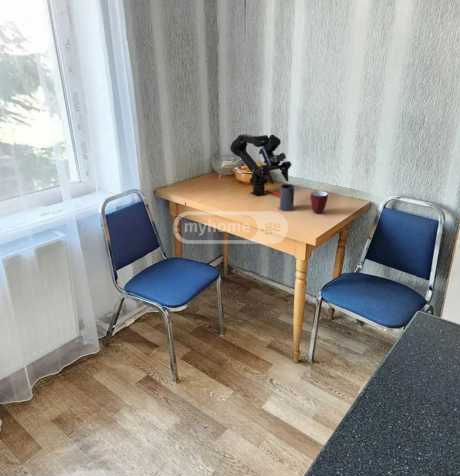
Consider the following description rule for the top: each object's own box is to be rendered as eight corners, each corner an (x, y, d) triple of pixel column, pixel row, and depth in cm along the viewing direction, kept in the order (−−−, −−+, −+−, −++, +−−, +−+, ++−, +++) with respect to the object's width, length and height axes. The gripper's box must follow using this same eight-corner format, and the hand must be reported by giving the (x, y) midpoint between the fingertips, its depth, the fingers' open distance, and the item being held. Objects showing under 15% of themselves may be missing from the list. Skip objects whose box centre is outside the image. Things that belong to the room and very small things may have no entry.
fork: (264, 191, 227) (264, 190, 227) (268, 190, 229) (268, 188, 228) (283, 198, 215) (284, 197, 215) (287, 197, 217) (288, 196, 217)
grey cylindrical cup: (277, 208, 203) (278, 185, 198) (286, 205, 207) (287, 183, 202) (286, 212, 198) (287, 189, 193) (296, 209, 202) (297, 186, 197)
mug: (326, 217, 191) (328, 198, 187) (309, 216, 193) (311, 197, 188) (325, 209, 201) (327, 191, 197) (309, 208, 202) (310, 190, 198)
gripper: (260, 150, 196) (272, 177, 192) (290, 145, 204) (302, 171, 200) (251, 162, 205) (262, 188, 201) (280, 157, 213) (292, 182, 209)
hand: (280, 182), depth 203 cm, fingers open, 9 cm apart
